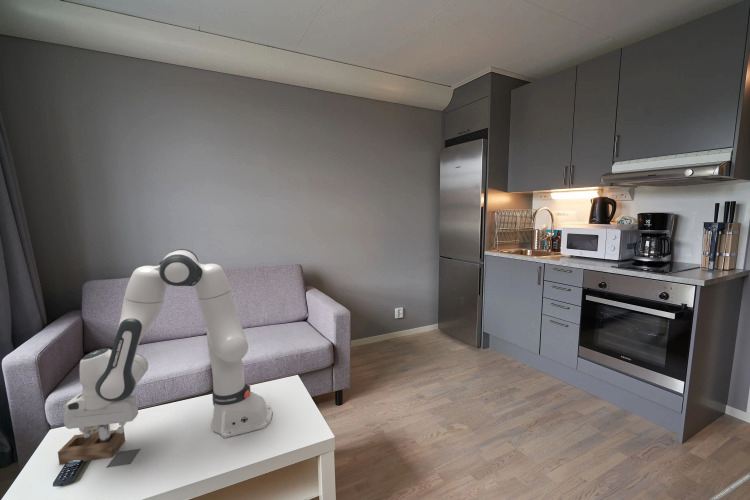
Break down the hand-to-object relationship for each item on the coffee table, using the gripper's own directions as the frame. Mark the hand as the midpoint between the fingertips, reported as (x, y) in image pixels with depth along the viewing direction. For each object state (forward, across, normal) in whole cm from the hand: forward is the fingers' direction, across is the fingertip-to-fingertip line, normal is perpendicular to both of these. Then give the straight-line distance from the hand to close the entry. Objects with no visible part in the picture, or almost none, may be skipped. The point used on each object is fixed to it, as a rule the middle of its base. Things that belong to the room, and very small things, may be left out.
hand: (104, 434), depth 111 cm
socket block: (+6, +4, 0) cm, 7 cm away
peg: (+6, 0, 0) cm, 6 cm away
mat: (+6, -8, +5) cm, 11 cm away
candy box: (+6, +9, -12) cm, 17 cm away
